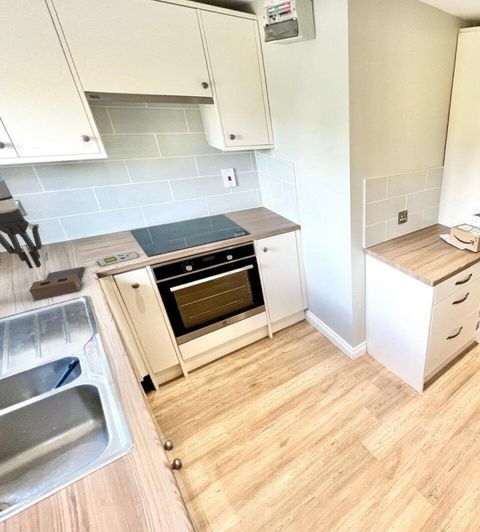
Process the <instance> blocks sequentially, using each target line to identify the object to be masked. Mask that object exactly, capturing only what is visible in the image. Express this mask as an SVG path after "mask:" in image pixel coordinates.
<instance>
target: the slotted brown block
mask: <svg viewBox="0 0 480 532" xmlns="http://www.w3.org/2000/svg"><path fill="white" fill-rule="evenodd" d="M81 286H82V282H81V280H79V278H78V276H77V274H73V275H68V276H62V277H57V278H52V279H47V280H46V279H44V282H41V280H37V281H34V282H33V283H31V286H30V288H29V289H28V291H29V293H30V295H31V296H32V298H33V299H34V301H40V300H44V299H49V298H55V297H58V296H63V295H68V294H72V293H76V292H80V289H81Z"/></svg>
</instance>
